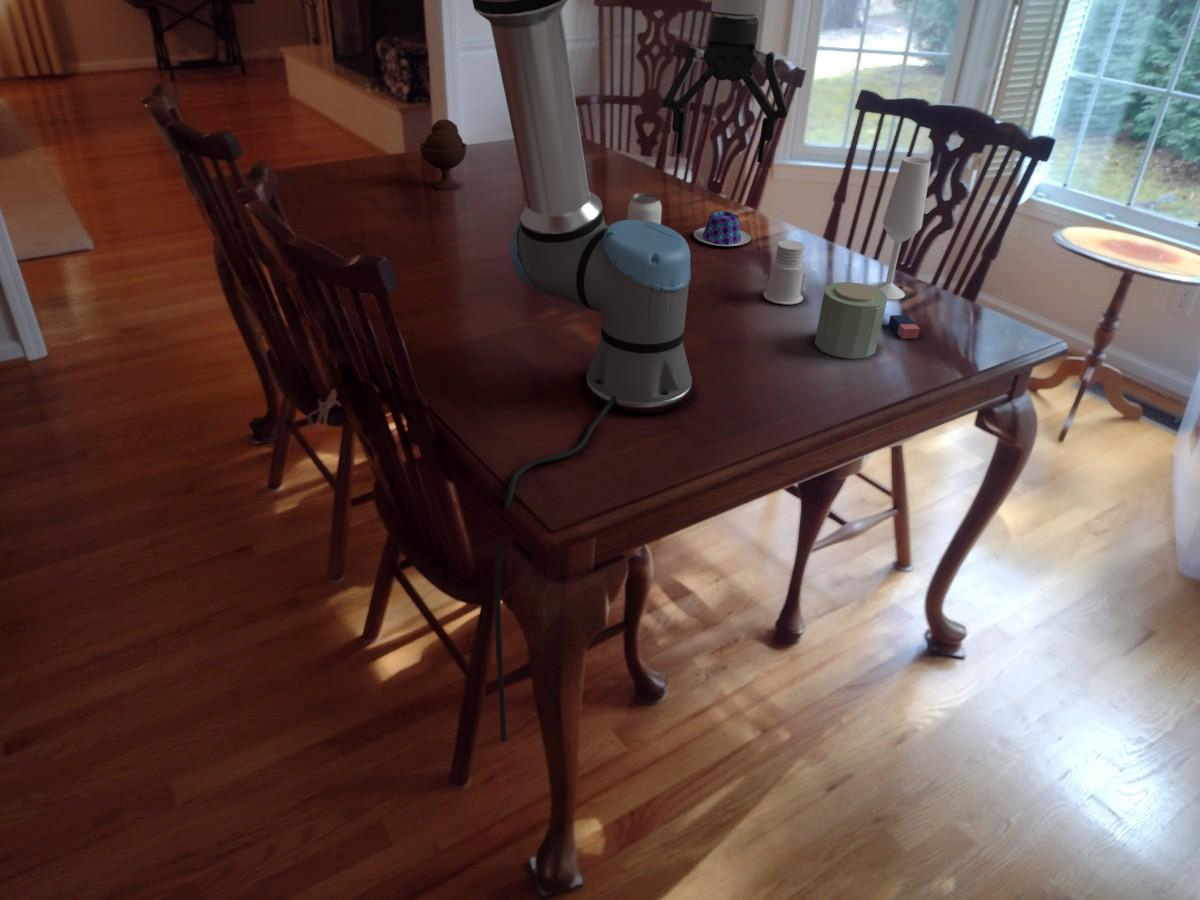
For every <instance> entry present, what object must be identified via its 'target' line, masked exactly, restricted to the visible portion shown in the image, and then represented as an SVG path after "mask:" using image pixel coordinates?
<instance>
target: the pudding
mask: <svg viewBox="0 0 1200 900" xmlns="http://www.w3.org/2000/svg"><path fill="white" fill-rule="evenodd" d="M740 225H741V224H740V218H739V215H737V214H735V212H732V211H726V210H725V211H724V210H721V211H714V212H712V213H711V214H710V215H709V216H708V219H707V223H706V225H705V226H704V227H701V228H698V229H696V230H695V231H694V232H693V237H694V239H696V240H698V241H699V242H702V243H705V244H708V245H711V246H717V247H718V246H720V247H736V246H742V245H745V244H747V243H749V242H750V241H751V240H752V237H751V235H750V234H749V233H748V232H746V231H743V230H741V226H740Z"/></svg>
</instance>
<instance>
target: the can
mask: <svg viewBox="0 0 1200 900" xmlns="http://www.w3.org/2000/svg"><path fill="white" fill-rule="evenodd" d="M662 209H663V207H662V203H661V197H660V196H659V195H656V194H654V193H645V192H644V193H635V194H632V195H631V196H630V201H629V202H628V206H627V219H626V220H640V221H641V222H647V221H650V222H654V223H658V224H661V225H662V211H663V210H662Z"/></svg>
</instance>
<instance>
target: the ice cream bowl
mask: <svg viewBox="0 0 1200 900" xmlns="http://www.w3.org/2000/svg"><path fill="white" fill-rule="evenodd" d="M419 150H420V153H421V156H422V157H423V159H424V160H425V161H426V162H427V163H428V164H429V165H430V166H431V167H434V168H435V169H439V170H440V172H441V179H439V180H437V181H436V182H435V184H434V188H435V189H438V190H444V191H446V190H454V189H456V188H458V184H457V182H455V181H454V180H452V179H451V178H450V173H449V172H450V170H451V169H453V168H456V167H457V166H459V165H460V164H461V163H462V162H463V160H464V159H465V157H466V154H467V143H465V142H463V138H462V136H461V135H460V133H459V129H458V126H457V124H456V123H454V122H453V121H452V120H449V119H438V120H437V121H436V122H435V123H434V124H433V125H432V126H431V132H430V133H429V134H428V135H427V136H426V138H425V140H424V142H422V143H420V146H419Z"/></svg>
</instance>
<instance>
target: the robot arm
mask: <svg viewBox="0 0 1200 900" xmlns="http://www.w3.org/2000/svg"><path fill="white" fill-rule="evenodd" d="M471 1H472V4H473V9H474V11H475V12H476V13H477V14H478V15H479V16H481V17H482V18H484V19H485V20H486V21H488V22H489V23H490V28H491V32H492V38H493V42H494V47H495V53H496V57H497V61H498V68H499V71H500V76H501V81H502V86H503V91H504V97H505V100H506V101H505V102H506V107H507V111H508V116H509V119H510V120H509V121H510V126H511V131H512V135H513V140H514V146H515V149H516V155H517V160H518V164H519V169H520V173H521V180H522V184H523V188H524V194H525V198H526V202H525V204H524V205H523V206H522V207H521V209H520V210H519V215H518V216H519V217H518V219H517V220H516V222H515V224H514V226H513V229H512V234H513V238H511V239H510V241H509V256H510V260H511V264H512V266H513V269H514V271H515V273H516V275H517V276H518V277H519V279H521V280H522V282H523V283H525V285H528V286H529V287H532V288H534V289H536V290H537V291H539V292H540V293H542V294H546V295H548V296H553V297H555V298H559V299H562V300H565V301H567V302H570V303H573V304H576V305H579V306H582V307H584V308H588V309H590V310H592V311H595V312H597V313H600V314H601V321H600V322H601V323H600V324H601V325H600V326H601V327H600V339H599V341H598V344H597V347H596V349H595V352H594V354H593V357H592V359H591V362H590V365H589V367H588V369H587V372H586V391H587V394H588V395H589V396H590V398H592V400H593V401H595V402H596V403H598V404H600V405H601V406H603V408H602V409H601V410H600V411H599V413H598V414H597V416H596V417H595V418H594V419H593V421H592V422H591V423H590V425H589V426H588V428H587V429H586V431H585V433H584V436H583V437H582V439H581V440H580V442H579V443H578V444H577V445H576V446H574V447H573V448H571V449H569V450H567V451H564V452H561V453H557V454H553V455H549V456H545V457H540V458H536V459H534V460H531V461H529V462H527V463H525V464H524V465H522V466H520V467H519V468H518V469H517V470H515V472H513V474H512V476H511V478H510V481H509V485H508V489H507V493H506V496H505V499H504V502H503V509H509V508H510V506H511V504H512V500H513V497H514V494H515V490H516V485H517V483H518V480H519V478H520V477H521V476H522V475H523V474H524V473H525V472H526V471H528V470H530V469H532V468H534V467H538V466H541V465H545V464H549V463H553V462H557V461H562V460H564V459H567V458H570V457H572V456H573V455H575V454H577V453H578V452H580V451H581V450H582V449H583V448H584V447H585V446H586V445H587V444H588V442H589V440H590V438H591V436H592V434H593V432H594V430H595V429H596V427H597V426H598V425H599V423H600V422H601V421H602V420H603V418H604V417H605V416H606V414H608V412H609V411H610V410H614V411H616V412H621V413H626V414H631V415H632V414H634V415H654V414H655V415H656V414H662V413H667V412H669V411H673V410H675V409H677V408H680V407H681V406H683V405H684V404H686V403H687V402H688V400H689V399H690V397H691V394H692V385H693V377H692V374H693V372H692V368H691V367H690V366H689V361H688V358H687V353H686V350H685V346H684V337H685V336H684V335H685V325H686V316H687V308H688V307H687V306H688V298H689V297H688V296H689V288H690V287H689V286H690V281H691V277H692V269H691V250H690V248H689V244H688V242H687V240H686V239H685V238H684V237H683V235H682V234H680V233H679V232H677V230H674V229H672V228H671V227H668V226H665V225H663V224H662V223H661V224H658V223H654V222H650V221H647V222H641V221H640V220H627V219H623V220H619V221H616V222H613V223H611V224H610V225H607V224H606V223H605V216H604V210H603V203H602V200H601V199H600V197H599V196H598V195H597V194H595V193H594V192H592V191H590V189H589V182H588V176H587V175H588V174H587V169H586V163H585V156H584V150H583V142H582V135H581V129H580V122H579V116H578V109H577V103H576V102H577V101H576V95H575V90H574V82H573V76H572V70H571V69H572V68H571V62H570V56H569V49H568V42H567V35H566V29H565V28H566V27H565V21H564V16H563V9H564V7H565V5H566V4H567V2H568V1H569V0H471ZM762 2H763V1H762V0H711V9H710V10H711V12H712V13H713V14H714V15H712V16H711V17H710V19H709V29H708V38H707V39H708V40H707V46H706V48H705V49H703V48H699V47H697V46H695V45H691V46H690V47H689V48H687V50H686V55H685V60H684V63H683V65H682V67H681V69H680V70H679V71H678V72H679V73H678V74H677V76H676V78H675V79H674V81H673V82H672V84H671V86H670V88H669V90H668V92H667V93H666V95H665V97H664V99H663V101H662V106H663V107H665V108H668V109H671V111H672V121H671V122H672V124H671V130H672V132H675V133H677V140H676V149H675V150H676V151H675V154H677V155H681V154H683V151H684V149H685V148H684V147H685V137H686V125H687V116H688V115H687V113H688V110H687V109H683V108H684V107H685V105H687V103H689V101H690V100H691V99H692V98H693V97H694V96H695V95H696V94H697V93H698V92H699V91H700V90H701V89H702V88H703V87H704V86H705V85H706V83H707V82H708V81H709V80H710V79H711V78H712V77H713V78H715V79H716V80H717V81H730V82H733V83H735V82H736V83H737V82H740V81H741V80H742V81H743V83H744V85H745V86H746V87H747V88H748V90H749V91H750V93H751V95H752V97H754V99H755V101H756V103H757V104H758V105H759V107H760V109H761V111H762V112H763V114H764V115H765V117H763V119H762V121H761V122H762V123H761V128H760V129H761V130H760V138H759V145H758V151H757V159H756V162H757V163H762V162H763V160H764V157H765V156H764V155H765V149H766V142H771V141H772V140H773V138H774V135H775V126H776V121H777V120H778V119H785V118H786V117H788V116H787V115H788V114H789V107H788V105H787V101H786V98H785V95H784V93H783V89H782V86H781V83H780V79H779V76H778V74H777V73H778V72H777V70H776V68H775V66H776V65H775V63H776V54H775V52H774V51H769V52H768V53H758V52H757V42H758V41H757V40H758V31H759V25H760V24H759V23H760V21H759V20H758V18H757V17H756V16H758V15H760V14H761V8H762ZM701 58H703V60H704V61H705V64H706V65H707V67H708V69H706V71H705V72H704V73H703V74H702V75H701V76H700V77H699V78H698V79H697V80H696V81H695V82H694V84H693V85H692V86H691V87H690V88H689V89H688V90H687V91H686V92H685V93H684V94H683V96H681V98H680V99H679V100H676V97H677V95H678V93H679V91H680V89H681V88H682V86H683V85H684V82H685V80H686V79H687V77H688V75H689V74H690V72H691V71H692V68H693V66H694V64H695V63H696V64H697V63H698V62H699V61H700V59H701ZM757 62H758V63H759V64H760V66H761V68H762V69H765V75H766V78H767V81H768V84H769V87H770V90H771V93H772V96H773V99H774V103H775V105H776V109H775V107H774V106H773V105H772V103H771V102H770V99H768V97H767V95H766V94H765V92H764V90H763V89H762V87H761V86H760V84H759V82H758V81H757V79H756V77H755V74H754V73H753V72H752V70H751V69H752V68H753V67H754V66H755V65H756V63H757ZM503 553H504V544H502V543H496V555H495V568H494V570H495V571H494V573H495V574H494V635H495V636H494V637H495V654H496V655H495V657H496V668H497V669H496V671H497V686H498V687H497V689H498V701H499V704H498V705H499V726H500V727H499V732H500V741H501V742H506V741H507V721H506V719H507V718H506V699H505V683H504V682H505V680H504V662H503V647H502V646H503V643H502V641H503V640H502V613H501V612H502V611H501V610H502V608H501V606H502V605H501V604H502V603H501V601H502V600H501V599H502V597H501V596H502V595H501V594H502V569H503Z"/></svg>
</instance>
